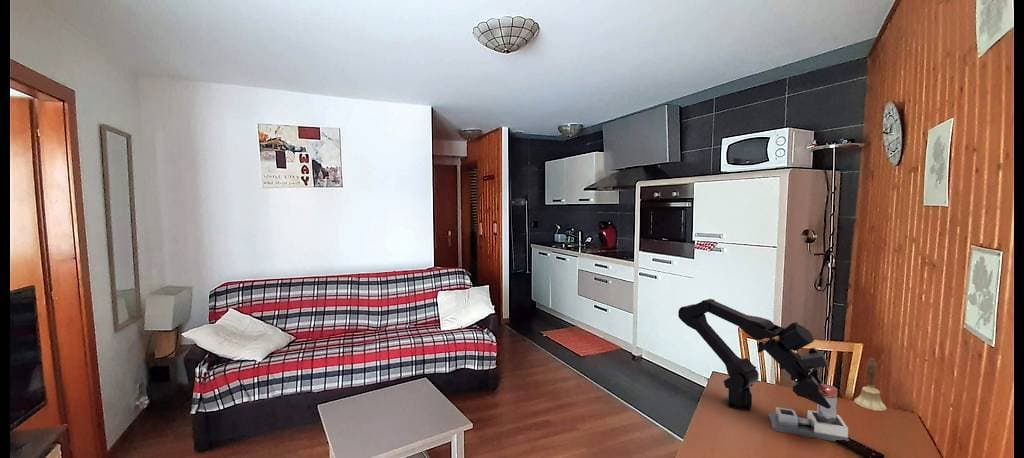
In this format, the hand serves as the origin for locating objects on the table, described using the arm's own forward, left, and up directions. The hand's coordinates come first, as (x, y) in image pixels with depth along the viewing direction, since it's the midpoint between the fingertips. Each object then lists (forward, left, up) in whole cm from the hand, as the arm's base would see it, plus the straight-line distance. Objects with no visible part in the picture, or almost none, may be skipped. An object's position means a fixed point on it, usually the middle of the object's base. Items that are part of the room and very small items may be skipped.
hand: (828, 401), depth 119 cm
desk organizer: (-5, 0, -10) cm, 11 cm away
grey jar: (0, 0, -8) cm, 8 cm away
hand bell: (+18, +25, -10) cm, 32 cm away
